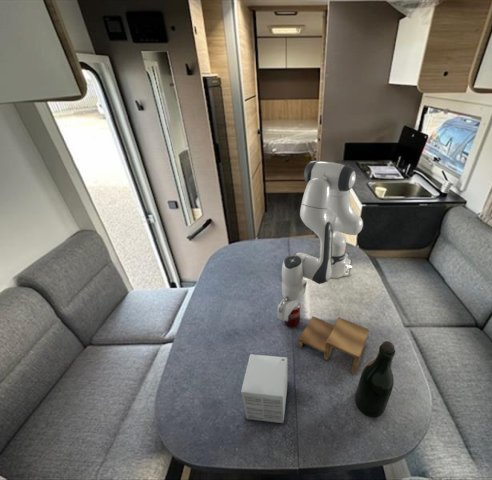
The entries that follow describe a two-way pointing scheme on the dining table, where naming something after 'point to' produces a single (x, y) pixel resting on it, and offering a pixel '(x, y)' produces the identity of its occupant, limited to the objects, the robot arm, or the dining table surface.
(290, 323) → the soda can
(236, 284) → the dining table surface
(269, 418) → the supplement box
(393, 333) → the dining table surface
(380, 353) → the dark green wine bottle
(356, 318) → the dining table surface
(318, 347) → the step shelf
